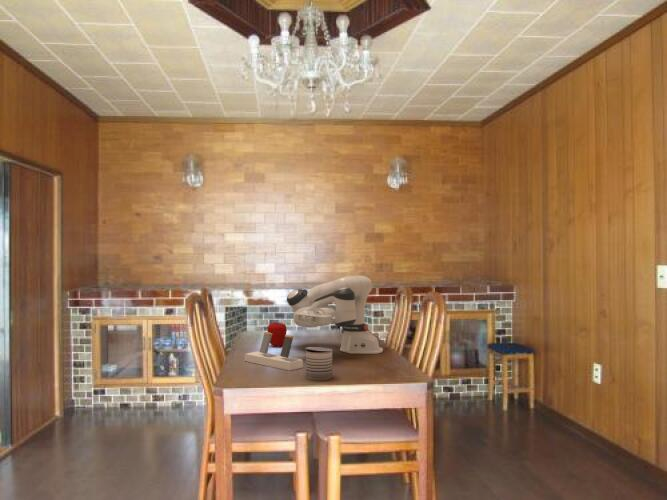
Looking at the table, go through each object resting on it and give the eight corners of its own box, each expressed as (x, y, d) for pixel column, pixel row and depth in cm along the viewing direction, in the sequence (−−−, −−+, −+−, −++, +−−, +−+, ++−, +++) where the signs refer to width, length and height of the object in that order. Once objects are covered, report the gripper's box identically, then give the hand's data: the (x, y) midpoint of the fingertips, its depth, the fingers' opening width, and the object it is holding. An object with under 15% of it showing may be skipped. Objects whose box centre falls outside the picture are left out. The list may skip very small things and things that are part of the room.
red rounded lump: (263, 346, 287) (263, 321, 287) (277, 343, 295) (277, 319, 295) (276, 348, 280) (276, 323, 280) (290, 346, 288) (290, 321, 288)
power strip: (257, 358, 254) (257, 350, 254) (302, 367, 235) (302, 359, 235) (244, 361, 248) (244, 353, 248) (290, 370, 228) (290, 361, 228)
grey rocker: (261, 352, 248) (267, 332, 250) (267, 353, 245) (272, 333, 248) (259, 352, 247) (264, 331, 249) (264, 353, 244) (269, 332, 247)
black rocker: (282, 356, 239) (287, 335, 241) (288, 357, 236) (293, 336, 239) (280, 356, 237) (285, 334, 240) (285, 357, 235) (291, 335, 238)
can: (301, 374, 221) (301, 346, 221) (326, 372, 225) (326, 344, 225) (311, 381, 210) (311, 351, 210) (337, 378, 215) (337, 349, 215)
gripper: (338, 325, 250) (318, 328, 239) (306, 321, 263) (287, 324, 252) (338, 312, 250) (318, 314, 239) (306, 309, 263) (287, 311, 252)
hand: (302, 319), depth 246 cm, fingers closed
